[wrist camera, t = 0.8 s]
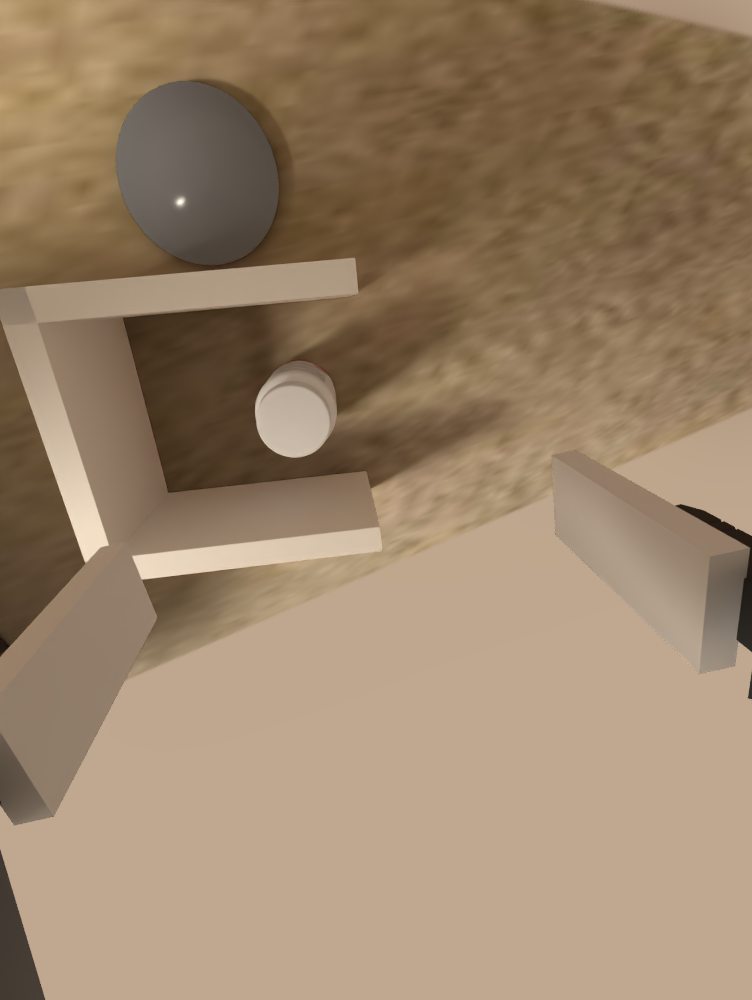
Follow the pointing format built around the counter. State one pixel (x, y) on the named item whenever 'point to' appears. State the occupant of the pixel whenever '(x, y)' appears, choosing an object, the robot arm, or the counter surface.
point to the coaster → (197, 173)
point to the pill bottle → (296, 409)
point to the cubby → (129, 438)
